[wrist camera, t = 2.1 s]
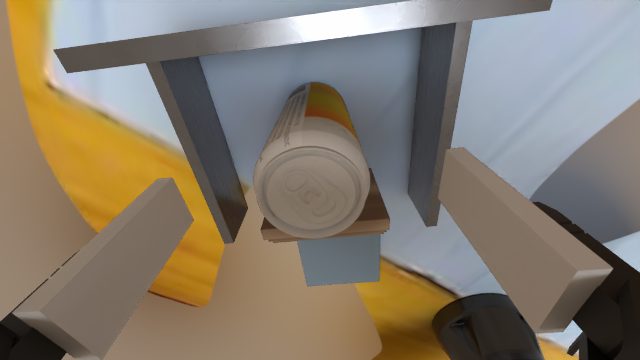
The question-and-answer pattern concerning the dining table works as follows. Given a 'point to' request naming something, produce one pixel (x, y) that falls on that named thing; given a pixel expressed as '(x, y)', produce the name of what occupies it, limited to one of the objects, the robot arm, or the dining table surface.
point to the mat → (341, 260)
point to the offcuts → (367, 223)
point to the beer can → (312, 166)
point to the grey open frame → (184, 47)
